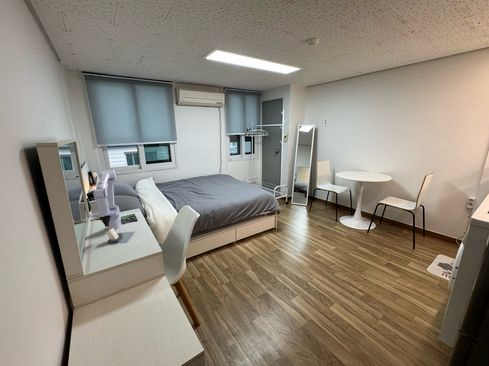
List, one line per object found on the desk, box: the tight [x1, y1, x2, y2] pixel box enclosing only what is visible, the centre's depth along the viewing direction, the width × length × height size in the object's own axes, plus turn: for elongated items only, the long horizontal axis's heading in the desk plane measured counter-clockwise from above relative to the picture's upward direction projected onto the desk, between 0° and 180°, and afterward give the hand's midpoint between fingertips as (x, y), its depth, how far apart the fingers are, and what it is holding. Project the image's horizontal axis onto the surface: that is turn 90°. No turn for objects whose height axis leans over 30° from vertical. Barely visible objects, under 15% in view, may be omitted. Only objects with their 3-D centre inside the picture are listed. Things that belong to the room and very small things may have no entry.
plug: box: [105, 228, 119, 240], centre depth 136 cm, size 4×3×7 cm
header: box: [107, 235, 123, 245], centre depth 137 cm, size 7×6×2 cm
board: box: [106, 231, 136, 245], centre depth 140 cm, size 15×12×2 cm
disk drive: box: [120, 213, 139, 225], centre depth 168 cm, size 10×3×15 cm
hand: (107, 226), depth 137 cm, fingers closed
